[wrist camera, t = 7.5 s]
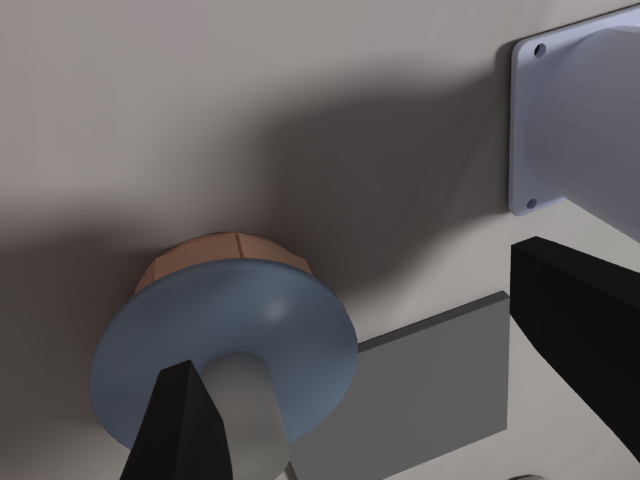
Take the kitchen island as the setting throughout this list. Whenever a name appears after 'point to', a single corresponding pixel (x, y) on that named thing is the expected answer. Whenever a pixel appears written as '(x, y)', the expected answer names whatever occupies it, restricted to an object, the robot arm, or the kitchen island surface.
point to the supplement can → (532, 478)
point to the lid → (231, 355)
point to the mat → (415, 396)
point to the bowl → (218, 254)
